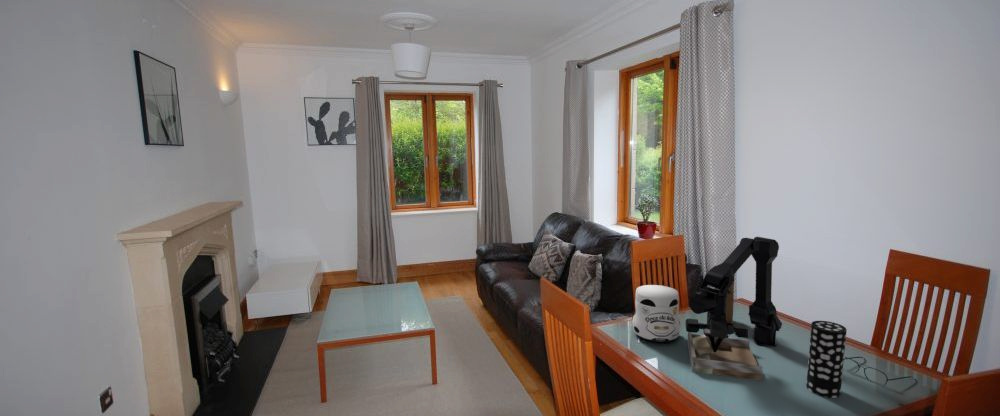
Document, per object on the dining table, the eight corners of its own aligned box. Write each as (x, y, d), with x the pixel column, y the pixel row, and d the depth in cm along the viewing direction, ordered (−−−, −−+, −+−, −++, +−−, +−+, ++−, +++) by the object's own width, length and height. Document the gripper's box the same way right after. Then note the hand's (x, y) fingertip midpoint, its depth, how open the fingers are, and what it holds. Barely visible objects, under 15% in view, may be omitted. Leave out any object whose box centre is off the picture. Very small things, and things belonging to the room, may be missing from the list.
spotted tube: (799, 383, 139) (804, 321, 136) (825, 381, 139) (830, 320, 136) (820, 398, 130) (826, 333, 128) (847, 396, 131) (854, 331, 128)
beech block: (711, 345, 156) (705, 333, 156) (712, 351, 152) (706, 339, 152) (698, 349, 158) (692, 337, 158) (699, 355, 154) (693, 343, 154)
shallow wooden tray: (748, 351, 160) (749, 338, 159) (761, 380, 141) (762, 365, 140) (687, 345, 166) (688, 332, 165) (692, 371, 147) (692, 357, 146)
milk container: (658, 350, 162) (659, 302, 160) (622, 333, 177) (623, 289, 174) (689, 338, 171) (691, 293, 168) (653, 323, 186) (654, 281, 183)
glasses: (835, 368, 148) (838, 354, 148) (864, 365, 153) (867, 350, 153) (885, 390, 135) (888, 374, 134) (915, 385, 140) (918, 370, 140)
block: (732, 328, 179) (735, 280, 176) (711, 325, 183) (713, 277, 180) (732, 319, 189) (735, 272, 186) (712, 316, 192) (715, 270, 189)
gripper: (688, 313, 147) (686, 359, 149) (753, 319, 141) (750, 366, 143) (686, 302, 157) (684, 344, 159) (746, 307, 151) (743, 351, 154)
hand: (714, 351), depth 154 cm, fingers closed
